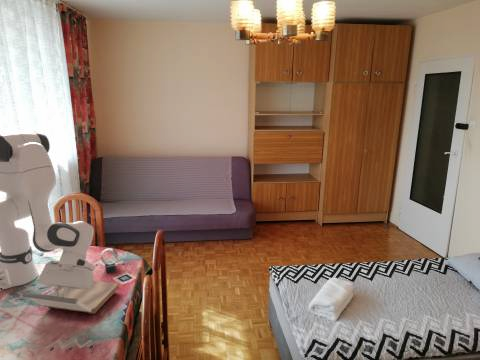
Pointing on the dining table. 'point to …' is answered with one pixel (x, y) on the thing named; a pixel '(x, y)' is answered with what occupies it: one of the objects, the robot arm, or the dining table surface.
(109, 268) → the watch
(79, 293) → the brown flat block
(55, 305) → the panel
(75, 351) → the dining table surface
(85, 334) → the dining table surface
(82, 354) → the dining table surface
